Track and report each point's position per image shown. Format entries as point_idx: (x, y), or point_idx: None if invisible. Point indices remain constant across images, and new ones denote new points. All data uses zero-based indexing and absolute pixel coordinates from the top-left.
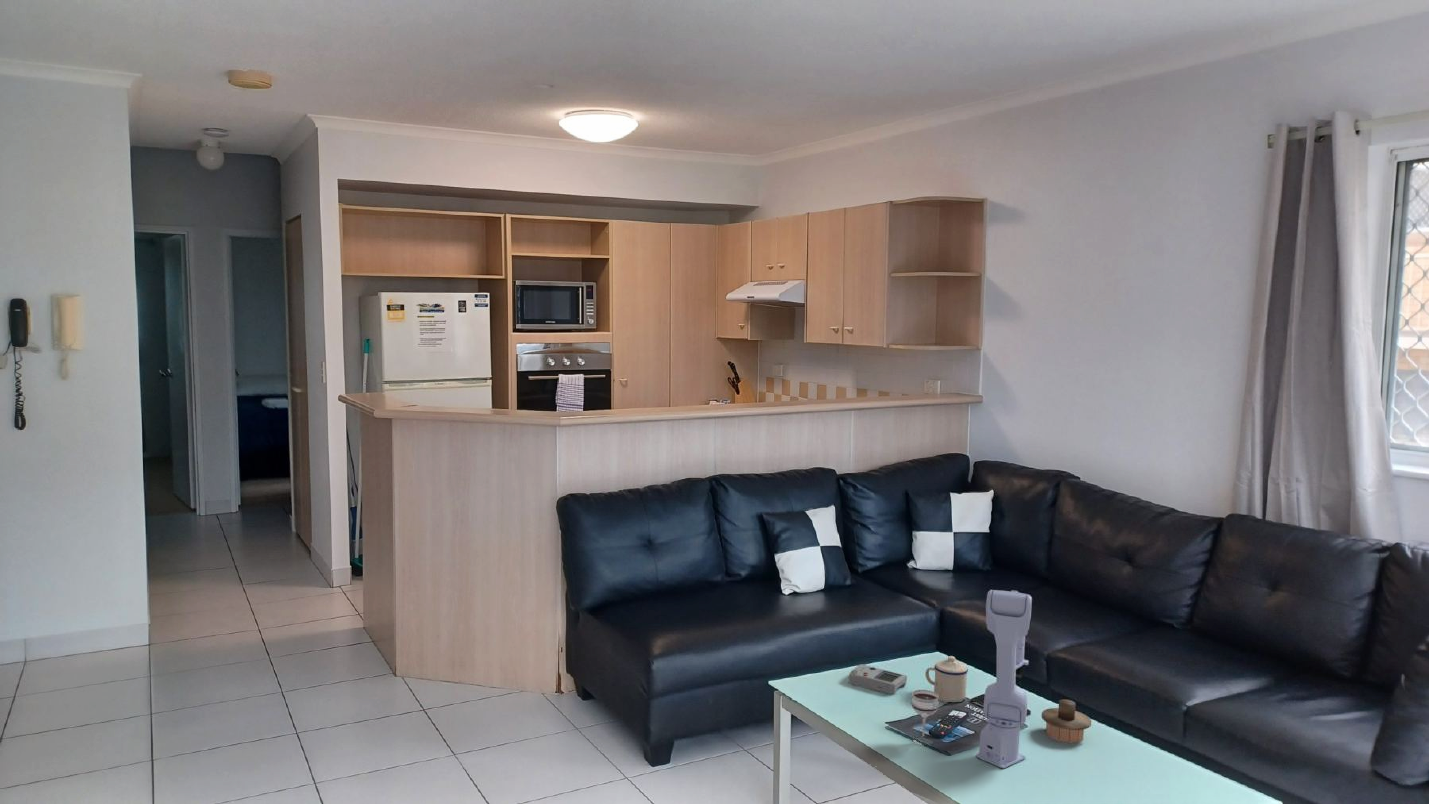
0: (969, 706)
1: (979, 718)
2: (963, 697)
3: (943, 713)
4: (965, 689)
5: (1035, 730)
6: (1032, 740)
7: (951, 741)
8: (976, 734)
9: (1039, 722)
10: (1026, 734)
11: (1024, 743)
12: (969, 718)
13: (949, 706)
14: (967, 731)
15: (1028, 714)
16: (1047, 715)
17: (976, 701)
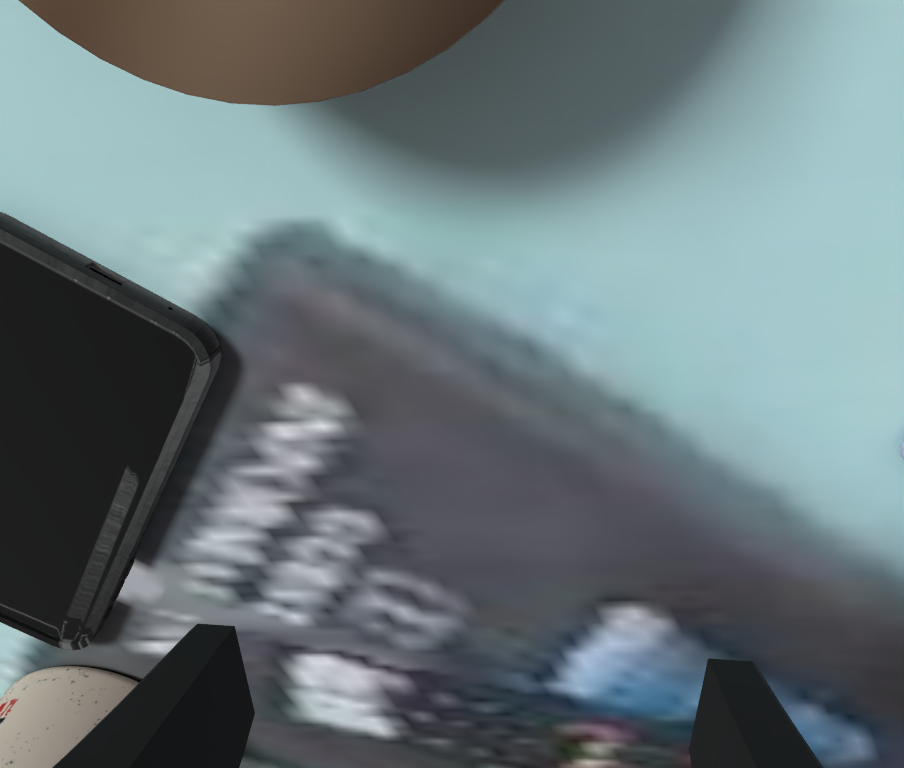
0: (174, 638)
1: (351, 580)
2: (107, 699)
3: (392, 758)
4: (46, 740)
5: (361, 137)
6: (640, 153)
7: (858, 720)
8: (673, 592)
9: (129, 107)
10: (507, 221)
11: (746, 229)
12: (389, 635)
13: (256, 732)
14: (638, 642)
15: (24, 229)
16: (301, 9)
17: (79, 614)
